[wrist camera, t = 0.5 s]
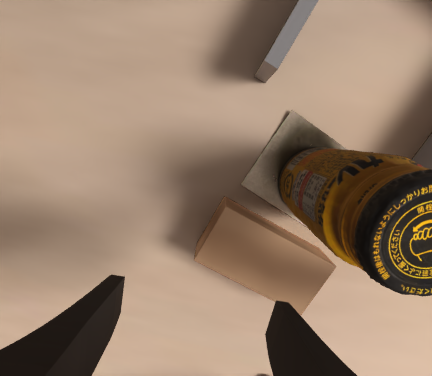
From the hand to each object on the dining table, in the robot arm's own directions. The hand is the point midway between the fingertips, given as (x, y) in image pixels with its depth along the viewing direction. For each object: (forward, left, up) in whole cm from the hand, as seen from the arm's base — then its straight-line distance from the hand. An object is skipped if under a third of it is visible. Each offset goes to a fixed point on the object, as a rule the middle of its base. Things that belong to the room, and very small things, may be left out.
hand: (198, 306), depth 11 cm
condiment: (+8, -5, -11) cm, 14 cm away
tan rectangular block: (+1, -5, -11) cm, 12 cm away
